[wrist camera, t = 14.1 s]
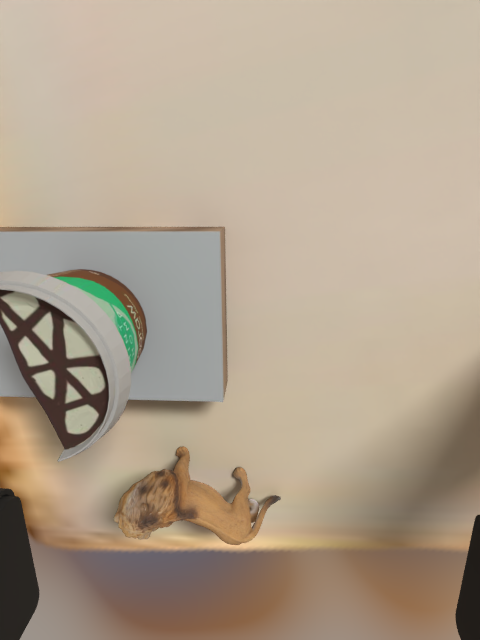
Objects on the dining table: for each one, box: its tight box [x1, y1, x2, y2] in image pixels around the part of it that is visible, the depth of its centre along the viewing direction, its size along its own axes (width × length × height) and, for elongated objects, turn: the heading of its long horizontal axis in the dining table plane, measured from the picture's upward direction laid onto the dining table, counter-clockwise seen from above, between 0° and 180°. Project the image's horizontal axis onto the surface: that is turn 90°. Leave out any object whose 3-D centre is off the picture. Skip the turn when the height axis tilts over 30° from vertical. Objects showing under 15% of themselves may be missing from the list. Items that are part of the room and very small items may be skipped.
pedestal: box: [0, 227, 227, 402], centre depth 35 cm, size 20×14×4 cm
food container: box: [0, 269, 147, 462], centre depth 28 cm, size 12×6×10 cm, turn 18°
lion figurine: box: [114, 447, 281, 545], centre depth 38 cm, size 15×5×9 cm, turn 75°
